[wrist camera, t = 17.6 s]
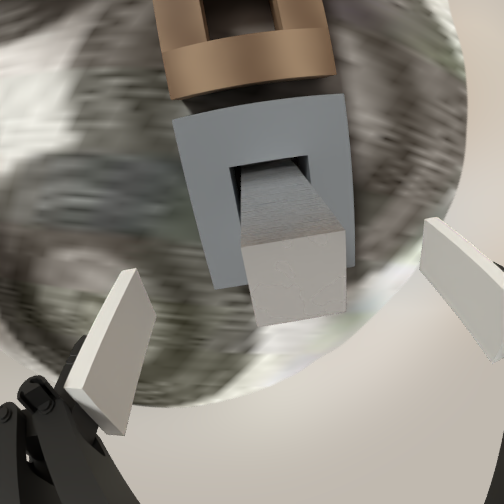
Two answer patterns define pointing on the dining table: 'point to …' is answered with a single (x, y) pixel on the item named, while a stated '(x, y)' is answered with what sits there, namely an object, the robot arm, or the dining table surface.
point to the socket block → (242, 48)
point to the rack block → (258, 150)
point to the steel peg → (290, 245)
